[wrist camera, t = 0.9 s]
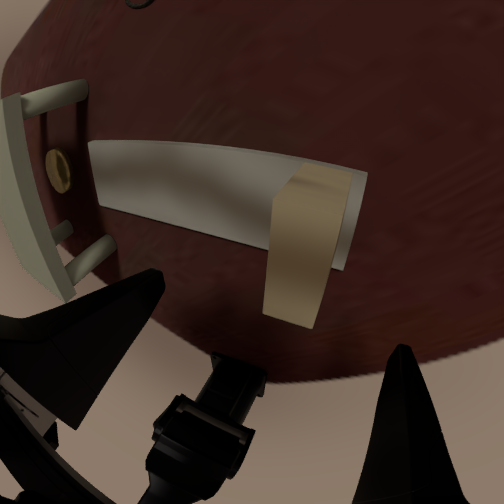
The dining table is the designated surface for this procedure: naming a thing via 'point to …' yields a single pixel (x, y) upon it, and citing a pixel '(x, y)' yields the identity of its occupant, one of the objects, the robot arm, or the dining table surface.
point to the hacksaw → (127, 1)
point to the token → (59, 169)
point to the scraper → (242, 207)
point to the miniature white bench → (27, 199)
